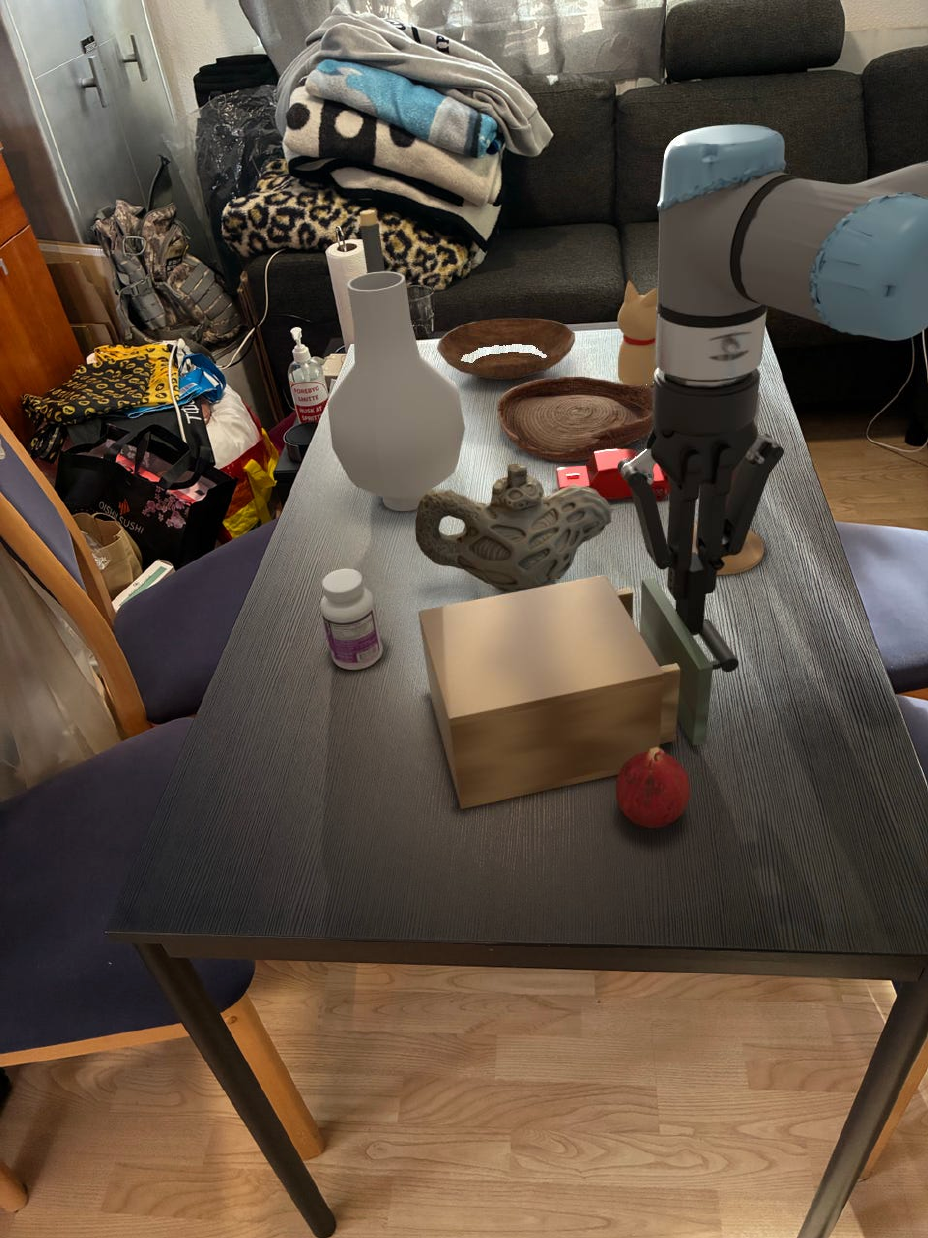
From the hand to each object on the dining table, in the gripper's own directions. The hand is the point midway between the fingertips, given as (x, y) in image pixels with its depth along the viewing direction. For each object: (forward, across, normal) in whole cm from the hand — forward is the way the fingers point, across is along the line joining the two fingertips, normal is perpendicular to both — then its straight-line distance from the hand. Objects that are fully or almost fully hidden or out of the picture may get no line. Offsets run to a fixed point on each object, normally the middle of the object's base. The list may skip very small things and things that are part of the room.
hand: (688, 622), depth 82 cm
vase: (+9, -19, +46) cm, 51 cm away
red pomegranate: (+9, -8, -13) cm, 18 cm away
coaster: (+9, +13, +22) cm, 27 cm away
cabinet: (+9, -14, 0) cm, 17 cm away
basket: (+9, +7, +56) cm, 57 cm away
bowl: (+9, +3, +81) cm, 81 cm away
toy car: (+9, +6, +38) cm, 39 cm away
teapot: (+9, -10, +23) cm, 27 cm away
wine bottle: (+9, -17, +68) cm, 71 cm away
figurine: (+9, +22, +68) cm, 72 cm away
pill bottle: (+9, -29, +16) cm, 34 cm away
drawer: (+8, -7, 0) cm, 11 cm away
